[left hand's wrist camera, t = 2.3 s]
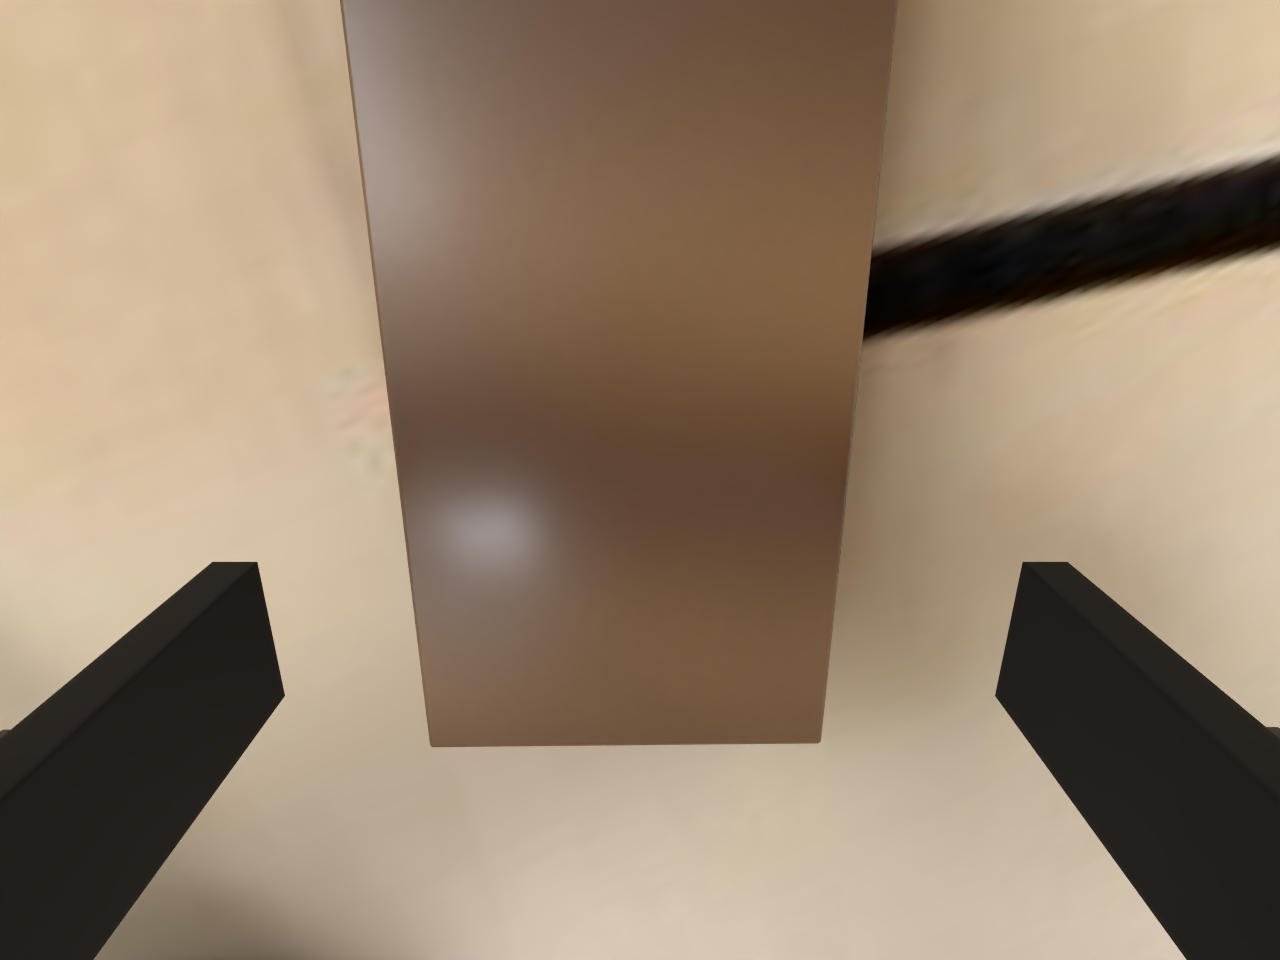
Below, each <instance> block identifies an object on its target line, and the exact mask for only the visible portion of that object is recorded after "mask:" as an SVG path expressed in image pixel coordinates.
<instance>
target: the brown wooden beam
mask: <svg viewBox="0 0 1280 960" xmlns="http://www.w3.org/2000/svg"><path fill="white" fill-rule="evenodd" d="M897 2H898V0H340V4H341V12H342V20H343V29H344V37H345V45H346V53H347V62H348V70H349V78H350V86H351V95H352V103H353V111H354V120H355V128H356V136H357V144H358V153H359V161H360V169H361V177H362V186H363V194H364V202H365V211H366V219H367V227H368V235H369V244H370V252H371V260H372V268H373V277H374V285H375V293H376V302H377V310H378V318H379V326H380V335H381V343H382V351H383V360H384V368H385V376H386V384H387V393H388V401H389V409H390V417H391V426H392V434H393V442H394V451H395V459H396V467H397V475H398V484H399V492H400V500H401V508H402V517H403V525H404V533H405V542H406V550H407V558H408V566H409V575H410V583H411V591H412V599H413V608H414V616H415V624H416V633H417V641H418V649H419V657H420V666H421V674H422V682H423V691H424V699H425V707H426V715H427V724H428V732H429V740H430V745H431V746H432V747H484V746H587V745H690V744H794V743H820V741H821V734H822V725H823V715H824V706H825V696H826V686H827V677H828V667H829V657H830V648H831V638H832V628H833V619H834V609H835V600H836V590H837V580H838V571H839V561H840V551H841V542H842V532H843V523H844V513H845V503H846V494H847V484H848V474H849V465H850V455H851V445H852V436H853V426H854V417H855V407H856V397H857V388H858V378H859V368H860V359H861V349H862V339H863V330H864V320H865V311H866V301H867V291H868V282H869V272H870V262H871V253H872V243H873V234H874V224H875V214H876V205H877V195H878V185H879V176H880V166H881V156H882V147H883V137H884V128H885V118H886V108H887V99H888V89H889V79H890V70H891V60H892V51H893V41H894V31H895V22H896V12H897Z"/></svg>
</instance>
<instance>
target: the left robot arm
mask: <svg viewBox="0 0 1280 960" xmlns="http://www.w3.org/2000/svg"><path fill="white" fill-rule="evenodd" d="M284 696H285V694H284V689H283V684H282V680H281V675H280V670H279V665H278V660H277V655H276V651H275V646H274V641H273V636H272V631H271V626H270V621H269V617H268V612H267V607H266V602H265V597H264V592H263V588H262V583H261V578H260V573H259V568H258V563H257V562H212V563H211V564H210V565H208V566H207V567H206V568H205V569H204V570H202V571H201V572H200V573H199V574H198V575H196V576H195V577H194V578H193V579H192V580H190V581H189V582H188V583H187V584H186V585H184V586H183V587H182V588H181V589H180V590H178V591H177V592H176V593H175V594H174V595H172V596H171V597H170V598H169V599H167V600H166V601H165V602H164V603H163V604H161V605H160V606H159V607H158V608H157V609H155V610H154V611H153V612H152V613H151V614H149V615H148V616H147V617H146V618H145V619H143V620H142V621H141V622H140V623H139V624H137V625H136V626H135V627H134V628H133V629H131V630H130V631H129V632H128V633H127V634H125V635H124V636H123V637H122V638H121V639H119V640H118V641H117V642H116V643H115V644H113V645H112V646H111V647H110V648H109V649H107V650H106V651H105V652H104V653H103V654H101V655H100V656H99V657H98V658H97V659H95V660H94V661H93V662H92V663H91V664H89V665H88V666H87V667H86V668H85V669H83V670H82V671H81V672H80V673H79V674H77V675H76V676H75V677H74V678H73V679H71V680H70V681H69V682H68V683H67V684H65V685H64V686H63V687H62V688H61V689H59V690H58V691H57V692H56V693H55V694H53V695H52V696H51V697H50V698H49V699H47V700H46V701H45V702H44V703H43V704H41V705H40V706H39V707H38V708H37V709H35V710H34V711H33V712H32V713H31V714H29V715H28V716H27V717H26V718H24V719H23V720H22V721H21V722H20V723H18V724H17V725H16V726H15V727H14V728H12V729H11V730H2V731H0V960H93V959H94V958H95V957H96V955H97V954H98V953H99V951H100V950H101V948H102V947H103V946H104V944H105V943H106V942H107V940H108V939H109V937H110V936H111V935H112V933H113V932H114V930H115V929H116V928H117V926H118V925H119V924H120V922H121V921H122V919H123V918H124V917H125V915H126V914H127V913H128V911H129V910H130V908H131V907H132V906H133V904H134V903H135V902H136V900H137V899H138V897H139V896H140V895H141V893H142V892H143V891H144V889H145V888H146V886H147V885H148V884H149V882H150V881H151V880H152V878H153V877H154V875H155V874H156V873H157V871H158V870H159V868H160V867H161V866H162V864H163V863H164V862H165V860H166V859H167V857H168V856H169V855H170V853H171V852H172V851H173V849H174V848H175V846H176V845H177V844H178V842H179V841H180V840H181V838H182V837H183V835H184V834H185V833H186V831H187V830H188V829H189V827H190V826H191V824H192V823H193V822H194V820H195V819H196V817H197V816H198V815H199V813H200V812H201V811H202V809H203V808H204V806H205V805H206V804H207V802H208V801H209V800H210V798H211V797H212V795H213V794H214V793H215V791H216V790H217V789H218V787H219V786H220V784H221V783H222V782H223V780H224V779H225V778H226V776H227V775H228V773H229V772H230V771H231V769H232V768H233V767H234V765H235V764H236V762H237V761H238V760H239V758H240V757H241V755H242V754H243V753H244V751H245V750H246V749H247V747H248V746H249V744H250V743H251V742H252V740H253V739H254V738H255V736H256V735H257V733H258V732H259V731H260V729H261V728H262V727H263V725H264V724H265V722H266V721H267V720H268V718H269V717H270V716H271V714H272V713H273V711H274V710H275V709H276V707H277V706H278V704H279V703H280V702H281V700H282V699H283V698H284ZM995 696H996V698H997V699H998V700H999V702H1000V703H1001V704H1002V706H1003V707H1004V709H1005V710H1006V711H1007V713H1008V714H1009V716H1010V717H1011V718H1012V720H1013V721H1014V722H1015V724H1016V725H1017V727H1018V728H1019V729H1020V731H1021V732H1022V733H1023V735H1024V736H1025V738H1026V739H1027V740H1028V742H1029V743H1030V744H1031V746H1032V747H1033V749H1034V750H1035V751H1036V753H1037V754H1038V755H1039V757H1040V758H1041V760H1042V761H1043V762H1044V764H1045V765H1046V767H1047V768H1048V769H1049V771H1050V772H1051V773H1052V775H1053V776H1054V778H1055V779H1056V780H1057V782H1058V783H1059V784H1060V786H1061V787H1062V789H1063V790H1064V791H1065V793H1066V794H1067V795H1068V797H1069V798H1070V800H1071V801H1072V802H1073V804H1074V805H1075V806H1076V808H1077V809H1078V811H1079V812H1080V813H1081V815H1082V816H1083V817H1084V819H1085V820H1086V822H1087V823H1088V824H1089V826H1090V827H1091V829H1092V830H1093V831H1094V833H1095V834H1096V835H1097V837H1098V838H1099V840H1100V841H1101V842H1102V844H1103V845H1104V846H1105V848H1106V849H1107V851H1108V852H1109V853H1110V855H1111V856H1112V857H1113V859H1114V860H1115V862H1116V863H1117V864H1118V866H1119V867H1120V868H1121V870H1122V871H1123V873H1124V874H1125V875H1126V877H1127V878H1128V880H1129V881H1130V882H1131V884H1132V885H1133V886H1134V888H1135V889H1136V891H1137V892H1138V893H1139V895H1140V896H1141V897H1142V899H1143V900H1144V902H1145V903H1146V904H1147V906H1148V907H1149V908H1150V910H1151V911H1152V913H1153V914H1154V915H1155V917H1156V918H1157V919H1158V921H1159V922H1160V924H1161V925H1162V926H1163V928H1164V929H1165V930H1166V932H1167V933H1168V935H1169V936H1170V937H1171V939H1172V940H1173V942H1174V943H1175V944H1176V946H1177V947H1178V948H1179V950H1180V951H1181V953H1182V954H1183V955H1184V957H1185V958H1186V959H1187V960H1280V728H1278V727H1265V726H1264V725H1263V724H1262V723H1260V722H1259V721H1258V720H1257V719H1256V718H1254V717H1253V716H1252V715H1251V714H1249V713H1248V712H1247V711H1246V710H1245V709H1243V708H1242V707H1241V706H1240V705H1239V704H1237V703H1236V702H1235V701H1234V700H1233V699H1231V698H1230V697H1229V696H1228V695H1227V694H1225V693H1224V692H1223V691H1222V690H1221V689H1219V688H1218V687H1217V686H1216V685H1215V684H1213V683H1212V682H1211V681H1210V680H1209V679H1207V678H1206V677H1205V676H1204V675H1203V674H1201V673H1200V672H1199V671H1198V670H1197V669H1195V668H1194V667H1193V666H1192V665H1191V664H1189V663H1188V662H1187V661H1186V660H1185V659H1183V658H1182V657H1181V656H1180V655H1179V654H1177V653H1176V652H1175V651H1174V650H1173V649H1171V648H1170V647H1169V646H1168V645H1167V644H1165V643H1164V642H1163V641H1162V640H1161V639H1159V638H1158V637H1157V636H1156V635H1155V634H1153V633H1152V632H1151V631H1150V630H1149V629H1147V628H1146V627H1145V626H1144V625H1143V624H1141V623H1140V622H1139V621H1138V620H1137V619H1135V618H1134V617H1133V616H1132V615H1131V614H1129V613H1128V612H1127V611H1126V610H1125V609H1123V608H1122V607H1121V606H1120V605H1119V604H1117V603H1116V602H1115V601H1114V600H1113V599H1111V598H1110V597H1109V596H1108V595H1106V594H1105V593H1104V592H1103V591H1102V590H1100V589H1099V588H1098V587H1097V586H1096V585H1094V584H1093V583H1092V582H1091V581H1090V580H1088V579H1087V578H1086V577H1085V576H1084V575H1082V574H1081V573H1080V572H1079V571H1078V570H1076V569H1075V568H1074V567H1073V566H1072V565H1070V564H1069V563H1068V562H1023V563H1022V568H1021V573H1020V578H1019V583H1018V588H1017V592H1016V597H1015V602H1014V607H1013V612H1012V617H1011V621H1010V626H1009V631H1008V636H1007V641H1006V646H1005V651H1004V655H1003V660H1002V665H1001V670H1000V675H999V680H998V684H997V689H996V694H995Z"/></svg>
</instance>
